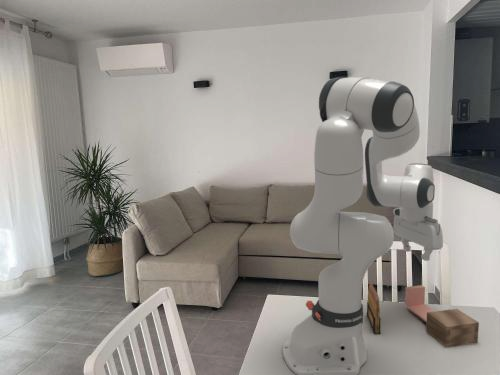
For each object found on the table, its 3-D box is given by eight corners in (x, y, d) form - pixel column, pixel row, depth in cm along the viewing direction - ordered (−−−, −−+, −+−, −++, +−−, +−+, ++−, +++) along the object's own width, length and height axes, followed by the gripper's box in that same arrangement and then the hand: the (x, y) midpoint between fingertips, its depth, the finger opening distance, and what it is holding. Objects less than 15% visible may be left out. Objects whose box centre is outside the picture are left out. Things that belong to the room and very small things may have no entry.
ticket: (432, 327, 103) (433, 306, 102) (404, 305, 116) (405, 287, 115) (450, 324, 104) (451, 303, 103) (421, 303, 117) (421, 285, 116)
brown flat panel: (366, 315, 113) (367, 280, 111) (372, 316, 113) (373, 280, 111) (373, 334, 102) (374, 295, 101) (380, 334, 102) (381, 296, 100)
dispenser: (445, 347, 95) (446, 326, 94) (426, 331, 103) (426, 312, 102) (477, 342, 96) (478, 322, 96) (456, 327, 104) (457, 308, 103)
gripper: (449, 219, 102) (447, 265, 103) (406, 207, 122) (405, 246, 123) (430, 221, 101) (428, 267, 102) (390, 208, 121) (389, 247, 122)
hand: (415, 255), depth 113 cm, fingers open, 8 cm apart
